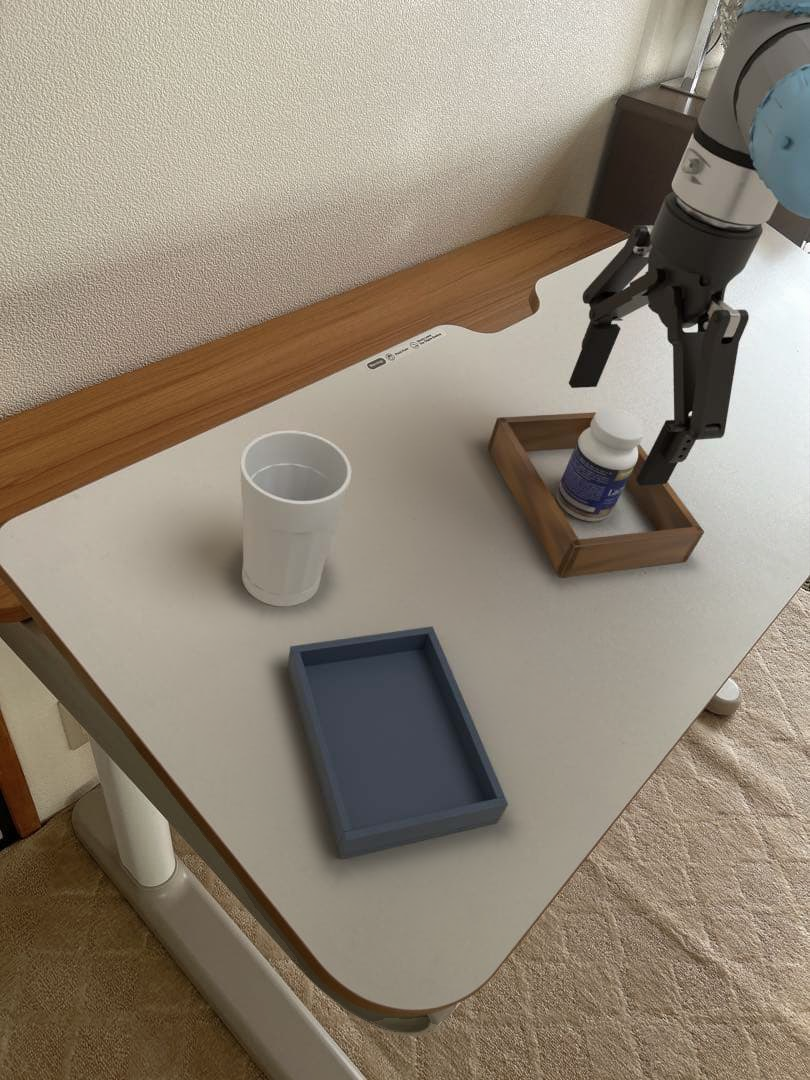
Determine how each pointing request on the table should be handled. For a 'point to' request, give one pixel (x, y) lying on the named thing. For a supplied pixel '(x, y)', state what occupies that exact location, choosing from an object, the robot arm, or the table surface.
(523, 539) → the table surface
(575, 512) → the pill bottle
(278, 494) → the cup
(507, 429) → the wooden frame
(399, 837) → the tray
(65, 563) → the table surface
